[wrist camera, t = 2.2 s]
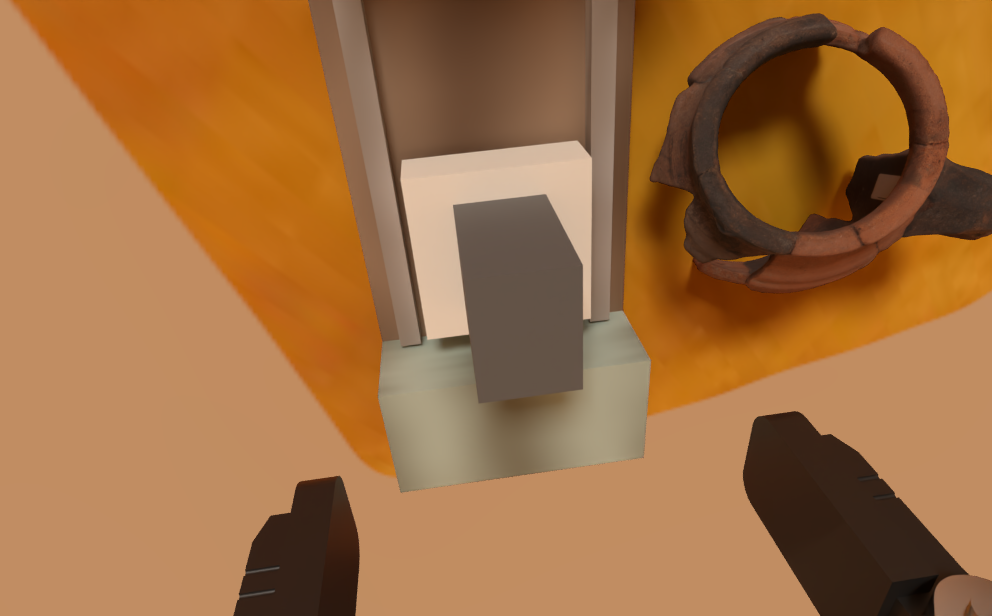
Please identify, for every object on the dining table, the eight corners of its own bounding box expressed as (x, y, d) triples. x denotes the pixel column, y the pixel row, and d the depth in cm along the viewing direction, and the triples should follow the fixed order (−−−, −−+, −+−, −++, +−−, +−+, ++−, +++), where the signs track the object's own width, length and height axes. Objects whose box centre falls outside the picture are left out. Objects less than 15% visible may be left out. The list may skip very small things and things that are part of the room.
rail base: (637, -550, 14) (846, -1013, 7) (610, 381, 29) (670, 516, 22) (203, -530, 13) (-11, -1012, 7) (402, 410, 28) (398, 557, 21)
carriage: (577, 140, 20) (643, 221, 14) (578, 291, 24) (633, 409, 18) (401, 160, 20) (395, 250, 14) (426, 310, 23) (430, 436, 17)
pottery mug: (621, 277, 26) (648, 279, 18) (648, 60, 26) (688, -40, 18) (908, 308, 25) (1074, 325, 17) (944, 81, 25) (1134, -15, 16)
